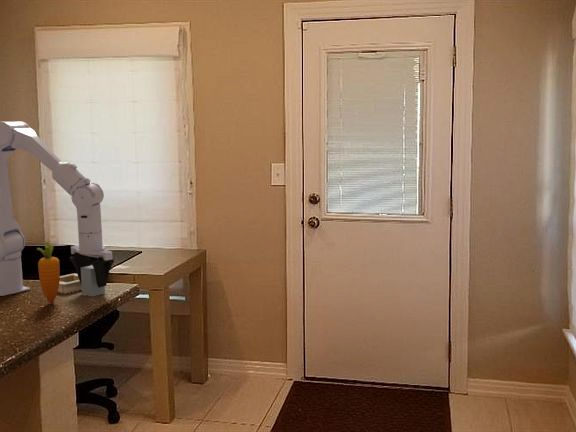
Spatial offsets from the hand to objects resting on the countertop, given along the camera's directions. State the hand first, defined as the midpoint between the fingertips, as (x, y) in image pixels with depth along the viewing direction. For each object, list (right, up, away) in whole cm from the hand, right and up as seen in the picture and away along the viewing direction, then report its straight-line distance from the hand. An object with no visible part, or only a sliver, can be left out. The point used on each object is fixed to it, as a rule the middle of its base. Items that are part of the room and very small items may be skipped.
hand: (93, 284), depth 165 cm
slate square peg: (0, -2, 0) cm, 2 cm away
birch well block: (-8, -2, +6) cm, 10 cm away
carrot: (-8, -4, -8) cm, 12 cm away
